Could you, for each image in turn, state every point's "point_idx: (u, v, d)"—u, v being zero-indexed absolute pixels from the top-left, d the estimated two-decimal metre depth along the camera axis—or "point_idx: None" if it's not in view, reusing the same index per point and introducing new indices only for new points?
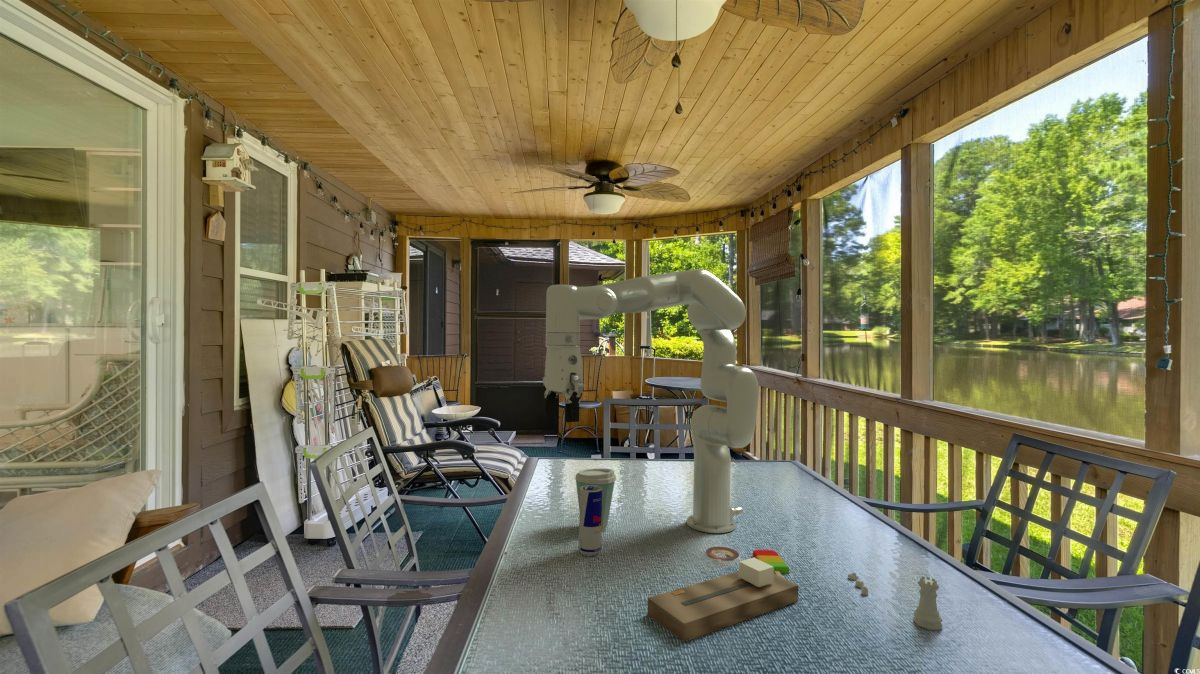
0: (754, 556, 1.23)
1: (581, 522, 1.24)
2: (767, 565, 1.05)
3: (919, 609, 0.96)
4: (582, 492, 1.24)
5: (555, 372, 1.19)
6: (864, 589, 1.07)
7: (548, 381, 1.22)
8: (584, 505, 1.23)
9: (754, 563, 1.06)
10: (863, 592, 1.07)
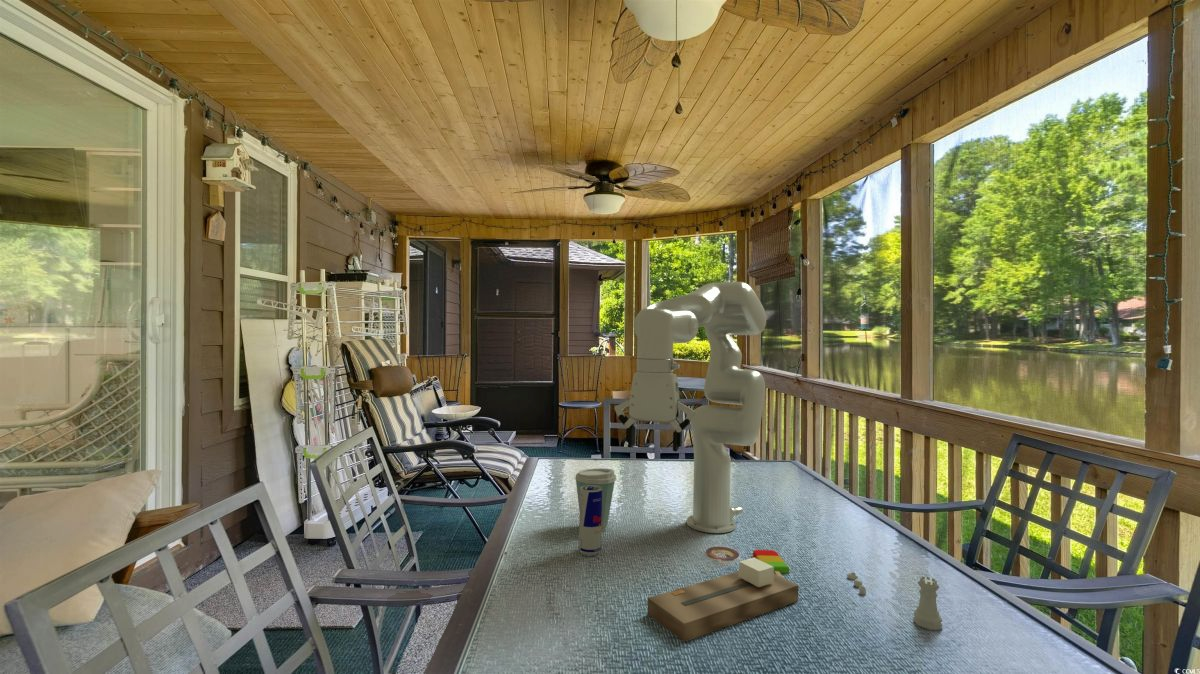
0: (754, 556, 1.23)
1: (581, 522, 1.24)
2: (767, 565, 1.05)
3: (919, 609, 0.96)
4: (582, 492, 1.24)
5: (658, 400, 1.13)
6: (862, 588, 1.07)
7: (640, 410, 1.14)
8: (584, 505, 1.23)
9: (754, 563, 1.06)
10: (861, 591, 1.07)
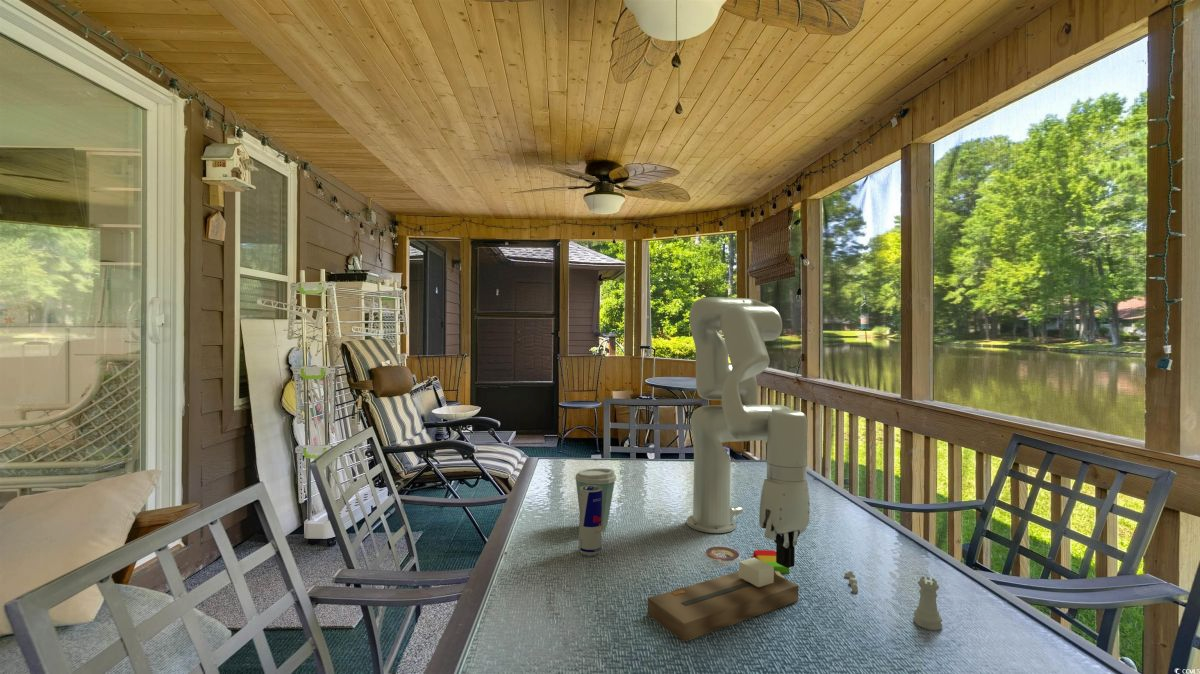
0: (754, 556, 1.23)
1: (581, 522, 1.24)
2: (767, 565, 1.05)
3: (919, 609, 0.96)
4: (582, 492, 1.24)
5: (801, 508, 1.08)
6: (854, 586, 1.08)
7: (787, 522, 1.06)
8: (584, 505, 1.23)
9: (754, 563, 1.06)
10: (853, 589, 1.08)
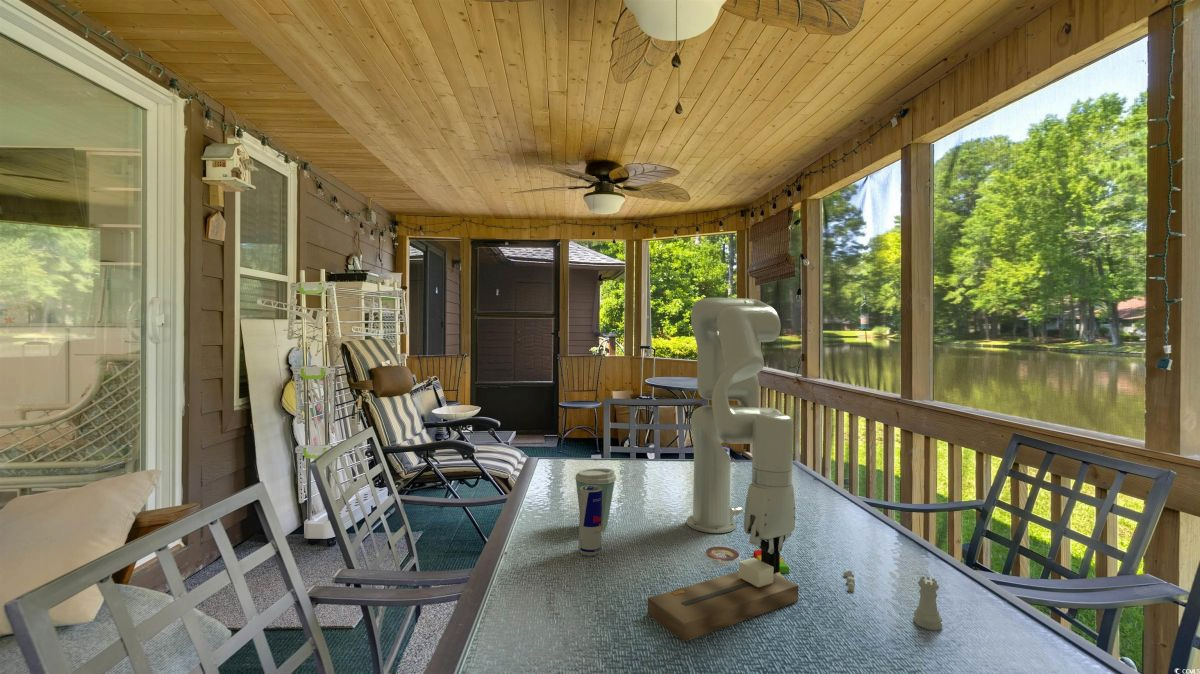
0: (754, 556, 1.23)
1: (581, 522, 1.24)
2: (767, 565, 1.05)
3: (919, 609, 0.96)
4: (582, 492, 1.24)
5: (786, 514, 1.06)
6: (850, 585, 1.09)
7: (772, 528, 1.04)
8: (584, 505, 1.23)
9: (754, 563, 1.06)
10: (849, 588, 1.09)
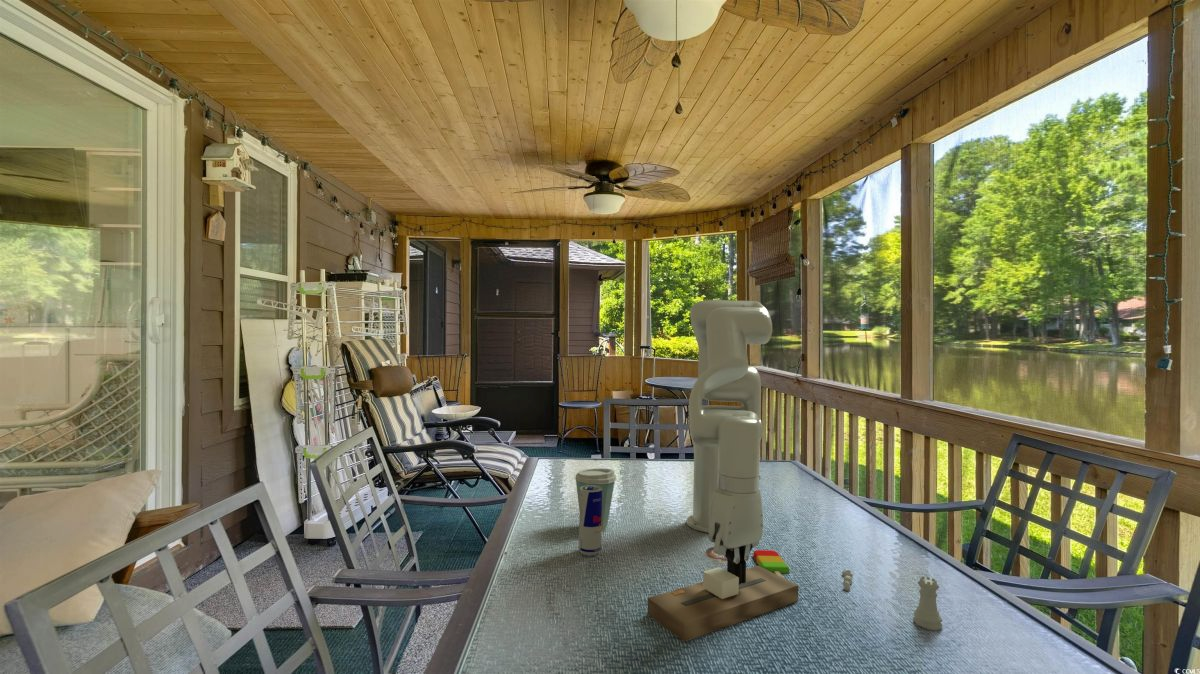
0: (755, 556, 1.23)
1: (581, 522, 1.24)
2: (732, 575, 1.00)
3: (919, 609, 0.96)
4: (582, 492, 1.24)
5: (752, 521, 1.01)
6: (845, 584, 1.09)
7: (737, 536, 0.99)
8: (584, 505, 1.23)
9: (719, 573, 1.01)
10: (844, 587, 1.09)
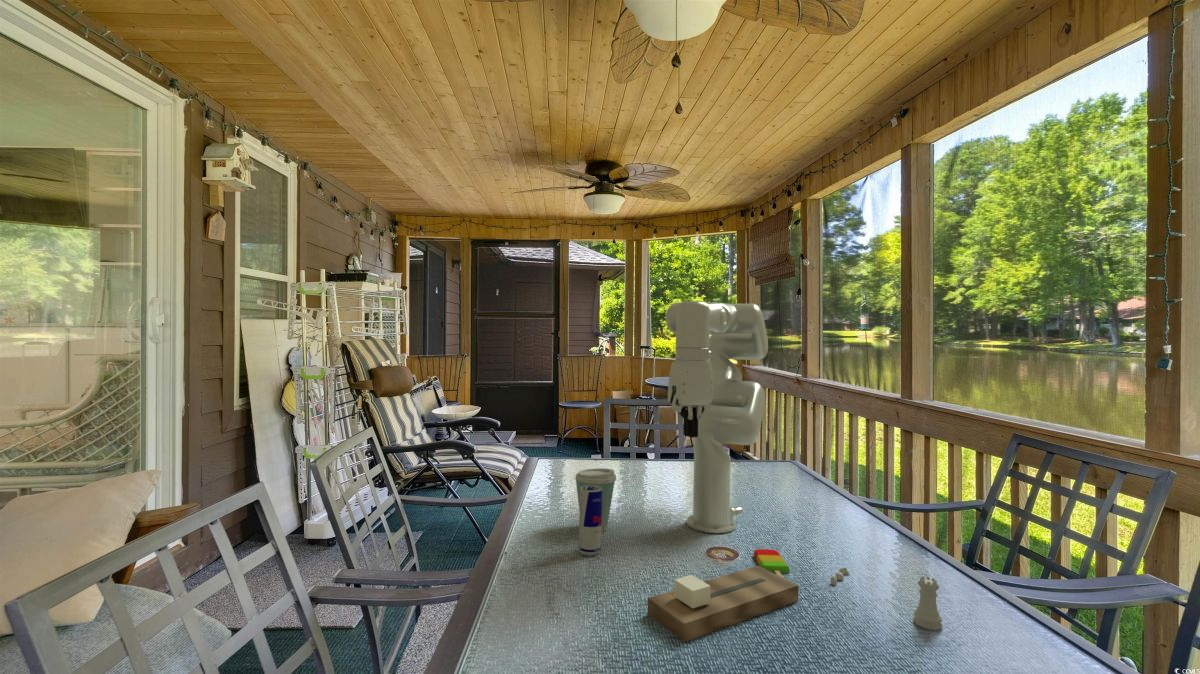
0: (755, 555, 1.23)
1: (581, 522, 1.24)
2: (703, 584, 0.96)
3: (919, 609, 0.96)
4: (582, 492, 1.24)
5: (703, 386, 1.24)
6: (832, 579, 1.11)
7: (690, 396, 1.22)
8: (584, 505, 1.23)
9: (690, 581, 0.97)
10: (831, 581, 1.12)
